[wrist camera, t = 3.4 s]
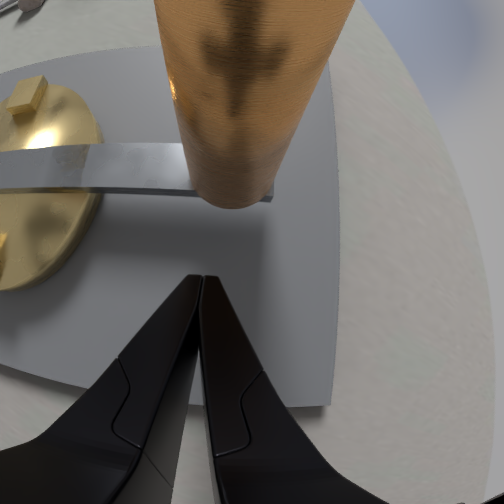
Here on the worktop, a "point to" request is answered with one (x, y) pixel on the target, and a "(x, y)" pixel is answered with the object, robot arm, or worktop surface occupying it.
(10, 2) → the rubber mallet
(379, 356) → the worktop surface
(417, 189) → the worktop surface
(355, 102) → the worktop surface
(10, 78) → the grey rectangular board
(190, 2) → the brass wheel crank mechanism
